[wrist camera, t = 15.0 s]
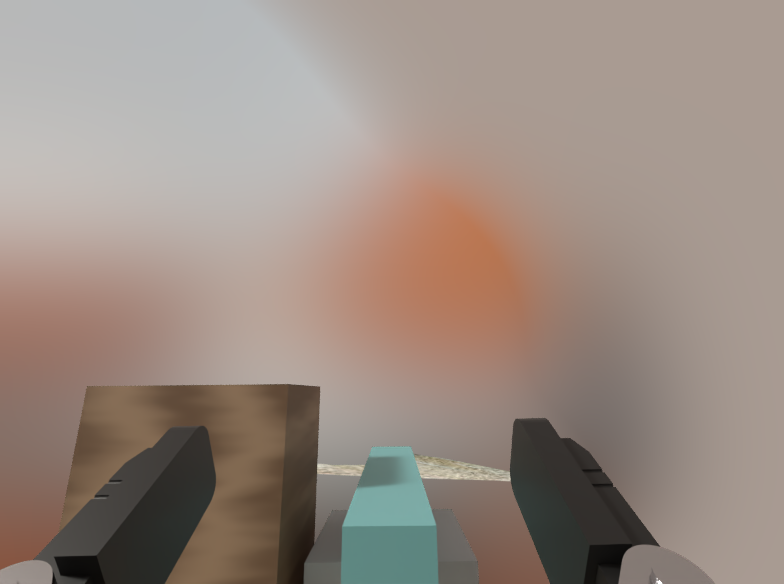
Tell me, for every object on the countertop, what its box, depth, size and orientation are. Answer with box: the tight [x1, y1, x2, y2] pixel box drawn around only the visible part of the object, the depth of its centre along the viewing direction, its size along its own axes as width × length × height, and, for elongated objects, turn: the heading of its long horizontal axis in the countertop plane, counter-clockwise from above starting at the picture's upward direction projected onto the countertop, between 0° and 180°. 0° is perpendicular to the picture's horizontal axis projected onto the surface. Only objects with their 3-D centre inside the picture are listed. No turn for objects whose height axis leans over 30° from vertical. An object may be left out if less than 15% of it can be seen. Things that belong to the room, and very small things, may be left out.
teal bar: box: [341, 447, 439, 584], centre depth 27 cm, size 4×24×4 cm, turn 0°
